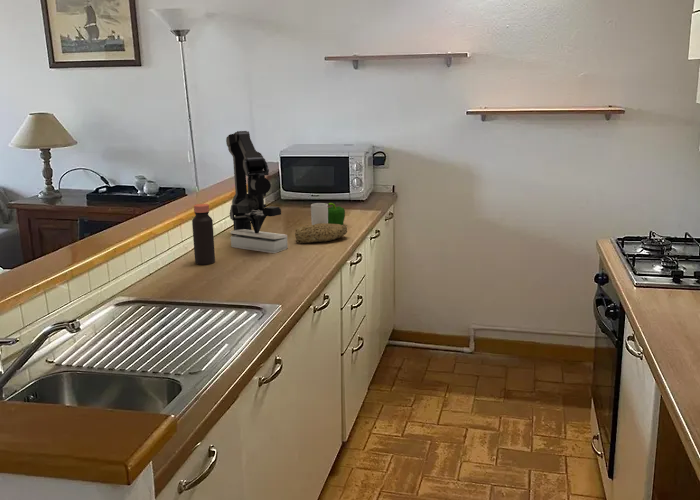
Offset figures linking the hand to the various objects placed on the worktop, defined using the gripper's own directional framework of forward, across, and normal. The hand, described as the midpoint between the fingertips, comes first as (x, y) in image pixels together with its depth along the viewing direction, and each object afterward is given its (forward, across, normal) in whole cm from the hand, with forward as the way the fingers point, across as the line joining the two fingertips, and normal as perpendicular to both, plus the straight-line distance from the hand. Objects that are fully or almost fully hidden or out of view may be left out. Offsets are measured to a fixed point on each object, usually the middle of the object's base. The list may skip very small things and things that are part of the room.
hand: (256, 233), depth 255 cm
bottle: (+7, -4, -24) cm, 25 cm away
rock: (+5, +14, +22) cm, 27 cm away
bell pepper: (+4, +5, +46) cm, 46 cm away
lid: (+1, 0, +1) cm, 2 cm away
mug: (+5, +7, +32) cm, 33 cm away
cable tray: (+6, 0, +2) cm, 6 cm away
